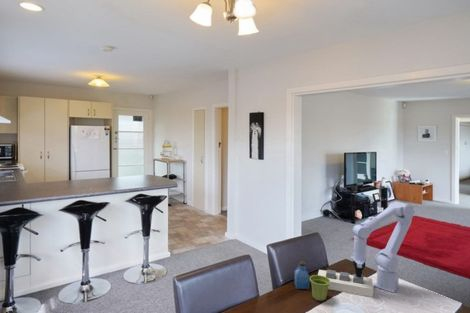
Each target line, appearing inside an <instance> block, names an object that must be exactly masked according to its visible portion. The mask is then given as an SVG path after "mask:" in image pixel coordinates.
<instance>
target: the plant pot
mask: <svg viewBox="0 0 470 313" xmlns="http://www.w3.org/2000/svg"><path fill="white" fill-rule="evenodd" d="M309 277H310V279H309V282H310V284H311V293H312V294H311V295H312V298H313V299H315V301H320V302H321V301H325V300H327V295H328V291H329V289H328V286H329V284H330V282H331V281H330V279H328V278H327V277H324V276H321V275H318V274H316V275H315V274H313V275H311V276H309Z"/></svg>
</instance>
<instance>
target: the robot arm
mask: <svg viewBox="0 0 470 313" xmlns="http://www.w3.org/2000/svg"><path fill="white" fill-rule="evenodd" d="M415 213H416V211H415V208H414V206H413V205H412V204H410V203H406V202H401V201H399V200H393V201H391V203H389V204H388V206H387V207H386V208H385V209H383V210H382V211H381V212H380V213H379V214H377V215H376V216H369V217H367V219H366V220H365V221H362V222H360V224H355V225H354V226H353V228H352V229H351V233H352V235H353V250H352V251H353V253H352V256H350V260H352V265H353V266H354V269H355V274H356V277H361V275H363V271H364V269H365V267H366V262H367V258H366V257H367V256H366V255H367V241H368V240H367V239H368V238H369V237H370V235H371V233H372V232H373V231H376V229H378V228H380V226H381V223H382V222H384V221H386V220H387V219H389V218H391V217H394V216H395V218H396V219H397V223H396V225H395V227H394V229H393V231H392V233H391V236H390V237H389V239H388V241H387V244H386V246H385V248H383V249H381V250H379V252H378V253H377V254H376V255H375V257H374V263H375V264H376V267H377V269H376V270H377V273H376V274H377V275H376V282H375V283H374V284H373V287H375V288H379V289H382V290H384V291H387V292H391V293H395V292H396V291H397V290H398V289H399V280H400V279H399V275H400V274H399V272H396V270H397V269H398V263H399V257H398V251H399V250H400V247H401V245H402V244H403V241H404V239H405V237H406V235H407V232H408V230H409V228H410V226H411V224H412V219H413V217H414V215H415Z"/></svg>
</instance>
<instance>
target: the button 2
mask: <svg viewBox="0 0 470 313" xmlns="http://www.w3.org/2000/svg"><path fill="white" fill-rule="evenodd" d="M353 275H354V279H353V282H354V283H359V284H363V277H364V275H363V274H362V275H361V277H356V273H353Z"/></svg>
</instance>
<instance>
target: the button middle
mask: <svg viewBox="0 0 470 313" xmlns="http://www.w3.org/2000/svg"><path fill="white" fill-rule="evenodd" d="M339 273H340V280H342V281H348V282H349V275H350V272H346V271H340V272H339Z"/></svg>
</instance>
